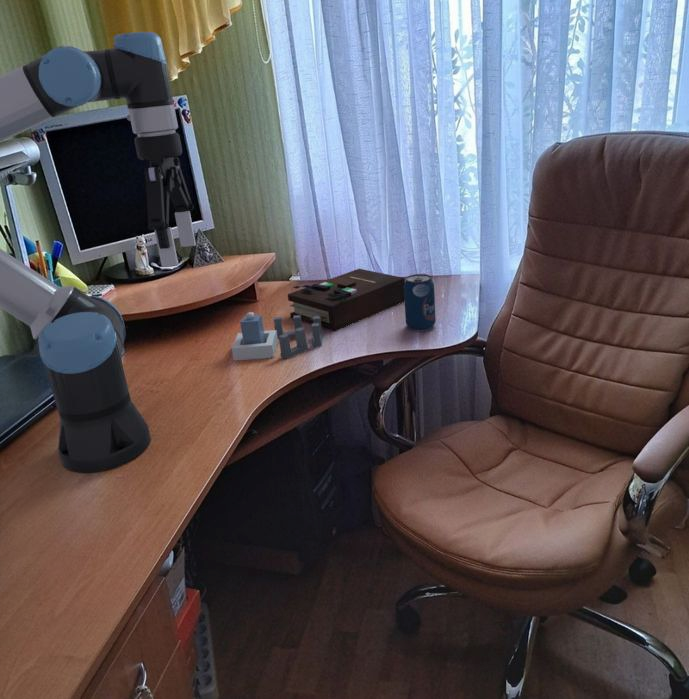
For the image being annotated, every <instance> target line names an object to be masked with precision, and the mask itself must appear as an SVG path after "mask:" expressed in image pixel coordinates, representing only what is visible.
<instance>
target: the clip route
mask: <svg viewBox="0 0 689 699" xmlns="http://www.w3.org/2000/svg"><path fill="white" fill-rule="evenodd" d="M292 319H293V326H294V327H293V328H294V331H284V328H283V321H282V320H283V319H282V316H275V317H274V318H273V326H274V330H277V337H278V344H279V349H280V358H281V357H282V358H283V359H284V358H285V359H284V360H288V359H289V358H292V357H294V356H297V355H299V354H300V353H303V352H305V350H306V351H308V350H309V347H308V344H307V343H308V342H307V337H306V335H307V334H306V329H305V328H303V325H302V324H303V323H302V321H301V315H296V316H294V317H293V318H292ZM311 332H312V341H313V342H312V345H313V348H317V346H320V347H322V346H323V345H322V344H323V338H324V337H323V336H324V335H323V330H322V327H321V319H320V316H314V317H313V324H311ZM291 339H295V341H296V342H295V343H296V345H295V346H293V347H291V341H290V340H291ZM282 358H281V359H282Z"/></svg>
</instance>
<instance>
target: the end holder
mask: <svg viewBox="0 0 689 699" xmlns="http://www.w3.org/2000/svg"><path fill="white" fill-rule="evenodd" d="M264 335H265V341H266V343H260V344H248V345H244V343H243V336H242V332H237V334H236V337H235V340H234V342H233V344H232V346H231V348H230V349H231V355H232V359H233V361H234V362H235V361H245V360H246V361H248V360H261V359H273V357H274V358H275V355H276V352H277V347H278V344H279V339H278V337H277V330H275V329H274V330H273V329H272V330H264ZM275 351H276V352H275ZM271 357H272V358H271Z"/></svg>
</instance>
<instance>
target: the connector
mask: <svg viewBox="0 0 689 699" xmlns="http://www.w3.org/2000/svg"><path fill="white" fill-rule="evenodd" d="M240 328H241V333H242V336H243V343H244V345H248V344H260V343H266V341H265V335H264V331H265V330H264V321H263V316H262V314H255V312H254V311H253V312H252V311H249V312H247V313H246V315H243V317H242V318H241V320H240Z"/></svg>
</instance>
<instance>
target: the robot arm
mask: <svg viewBox="0 0 689 699" xmlns="http://www.w3.org/2000/svg"><path fill="white" fill-rule="evenodd" d="M172 94H173V93H172V87H171V82H170V75H169V69H168V63H167V60H166V55H165V51H164V46H163V41H162V38H161V37H160V36H159V35H158V34H157V33H156V32H153V31H137V32H128V33H120V34H116V35H115V36H113V48H109V49H104V50H103V49H102V50H101V49H100V50H86V51H83V50H81V49H79V48H77V47H74V46H71V45H69V46H64V45H62V46H58V47H55V48H53V49H51V50H49V51H47V52H46V53H45V55H42V56H40V57H39V58H37V59H35V60H33V61H30V62H28V63H27V64H25V65H22V66H19V67H17V68H15V69H13V70H10V71H8V72H7V73H6V72H5V74H2V75H0V143H2V142H4V141H6V140H8V139H10V138H13V137H15V136H18V135H19V134H21V133H23V132H25V131H28V130H29V129H32V128H34V127H37V126H39V125H41V124H42V123H43V124H44V123H45V122H47V121H49V120H51V119H54V118H56V117H59V116H60V115H63V114H65V113H68V112H69V111H71V110H73V109H75V108H78V107H81V106H83V105H86V104H87V103H94V102H95V103H96V102H102V101H110V100H111V101H112V100H122V99H125V101H126V107H127V110H128V114H127V116H126V119H127V121H128V122H130V124H131V129H132V133H133V134H135V135H137V136H136V137H135V138H134V145H135V150H136V156H137V158H138V159H139V160H142V161H149V167H145V168H143V173H144V179H145V188H146V205H147V206H146V208H147V222H148V224H147V230H148V231H154V235H155V240H156V245H157V249H158V254H159V259H160V264H161V267H162V268H164V267H165V268H166V267H176V266H178V265H179V260H178V257H177V256H178V255H177V251H176V245H175V241H174V236H173V230H172V227H171V226H170V224H169V223H170V201H171V203H172V205H173V206H174V209H175V212H174V217H175V222H176V227H177V231H178V232H177V233H178V238H179V242H180V247H181V248H182V247H183V248H185V247H195V246H197V245H196V244H197V243H196V238H195V233H194V226H193V221H192V217H191V216H192V215H191V211H193V210H194V209H195V207H194V203H192V199H191V196H190V193H189V190H188V187H187V184H186V181H185V177H184V174H183V172H182V169H181V168H182V167H181V163H180V159H179V156H181V155H182V154H183V147H182V142H181V138H180V137H181V136H180V134H179V132H176V130H177V129H178V128H179V125H178V124H179V123H178V119H177V114H176V109H175V104H174V100H173V95H172ZM169 226H170V227H169ZM0 309H1V310H3V311H4V312H6V313H8V314H9V315H11V316H12V317H14V318H16V319H18V320H19V321H21V322H23V323H24V324H25V325H27V326H29V328H30V330H31V331H30V332H31V335H32V339H33V340H35V341H37V342H38V347H39V350H38V352H39V355H40V358H41V361H42V362H43V365H44V369H45V372H46V375H47V379H48V382H49V386H50V388H51V392H52V396H53V398H54V402H55V406H56V409H57V412H58V415H59V421H60V422H59V435H58V444H57V445H58V447H57V449H58V451H57V452H58V455H59V459H60V461H61V462H60V463H61V465H62V466H63V467H64V468H66V469H67V470H69V471H72V472H77V473H96V472H101V471H103V472H104V471H107V470H110V469H114V468H118V467H120V466H122V465H124V464H126V463H128V462H131V461H133V460H134V459H135V458H138V457H140V456H141V454H142V453H144V452H145V451H146V449H148V447H149V446H150V444H151V441H152V437H151V433H150V429H149V425H148V424H147V421H145V419H144V417H143V416H142V415H141V413H140V411H139V410H138V409H137V407H136V406H135V404H134V403H133V402H132V399H131V396H130V395H131V394H130V391H129V387H128V383H127V378H126V375H125V370H124V365H123V359H122V358H123V350H124V342H125V339H126V326H125V322H124V319H123V317H122V314H121V313H120V311H119V309H118V308H117V307H116V306H115V305H114V304H113V303H112V302H110V301H109V300H107V299H105V298H103V297H100V296H95V295H88V294H86V293H84V292H83V291H81V289H79V288H77V287H75V286H74V285H66V286H59V285H57V284H56V283H55V282H53V281H51V280H49V279H48V278H47V277H45V276H43V275H42V274H40V273H39V272H37V271H36V270H34V269H32V268H31V267H29V266H28V265H26V264H25V263H23V262H21V261H20V260H19V259H17V257H16V258H15V256H12V255H11V254H10V253H8V252H6V251H4V250H3V249H2V248H0Z"/></svg>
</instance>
